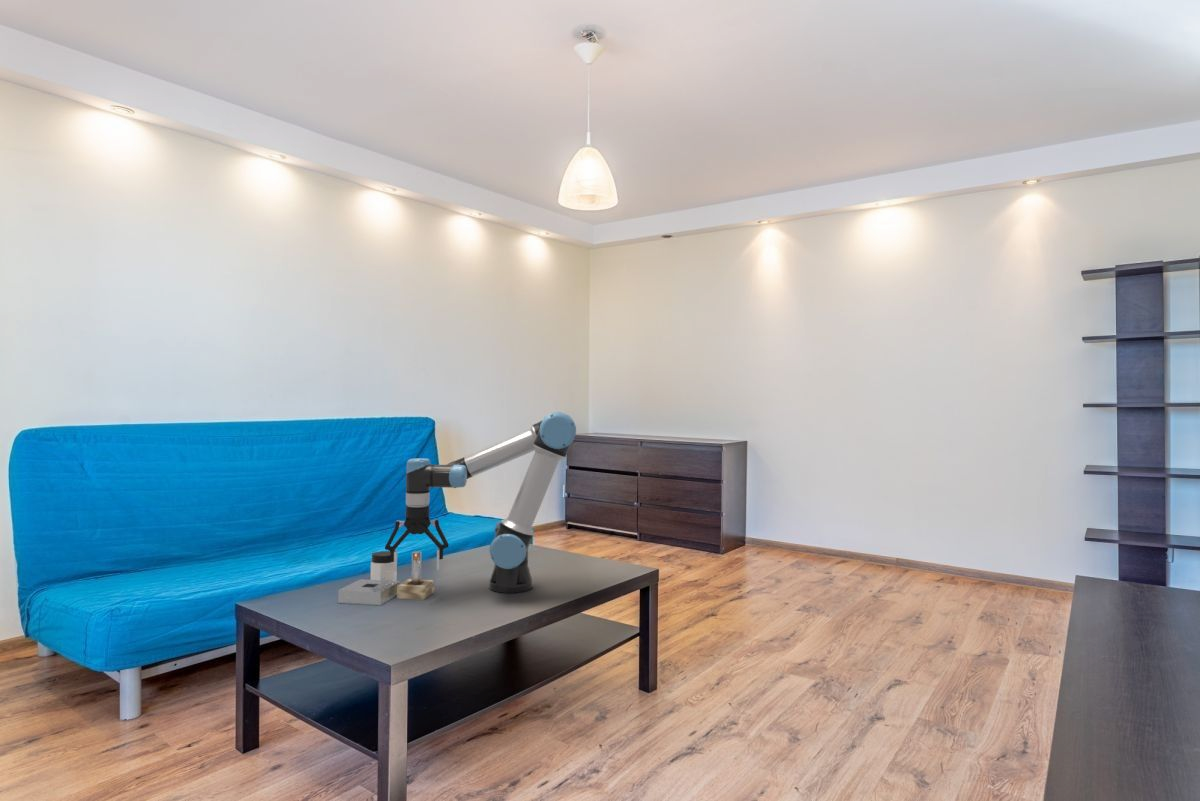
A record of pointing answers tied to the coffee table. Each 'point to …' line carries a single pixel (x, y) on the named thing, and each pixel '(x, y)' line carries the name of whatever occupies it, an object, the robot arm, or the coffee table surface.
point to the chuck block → (368, 592)
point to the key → (416, 568)
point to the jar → (382, 567)
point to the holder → (415, 590)
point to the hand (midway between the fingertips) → (416, 570)
